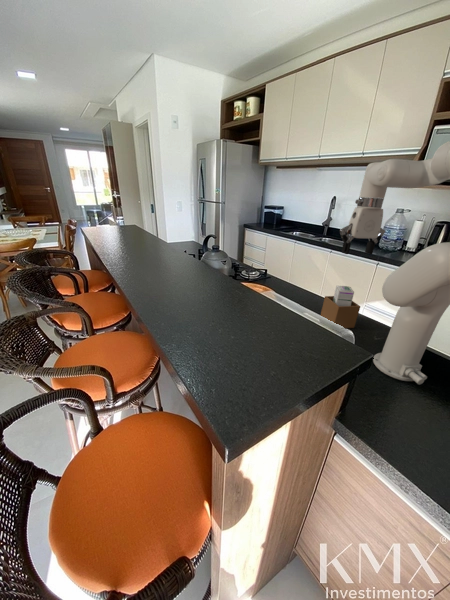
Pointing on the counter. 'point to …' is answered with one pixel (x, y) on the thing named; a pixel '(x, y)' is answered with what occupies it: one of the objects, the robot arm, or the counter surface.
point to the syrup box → (343, 296)
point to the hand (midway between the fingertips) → (356, 253)
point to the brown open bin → (340, 312)
